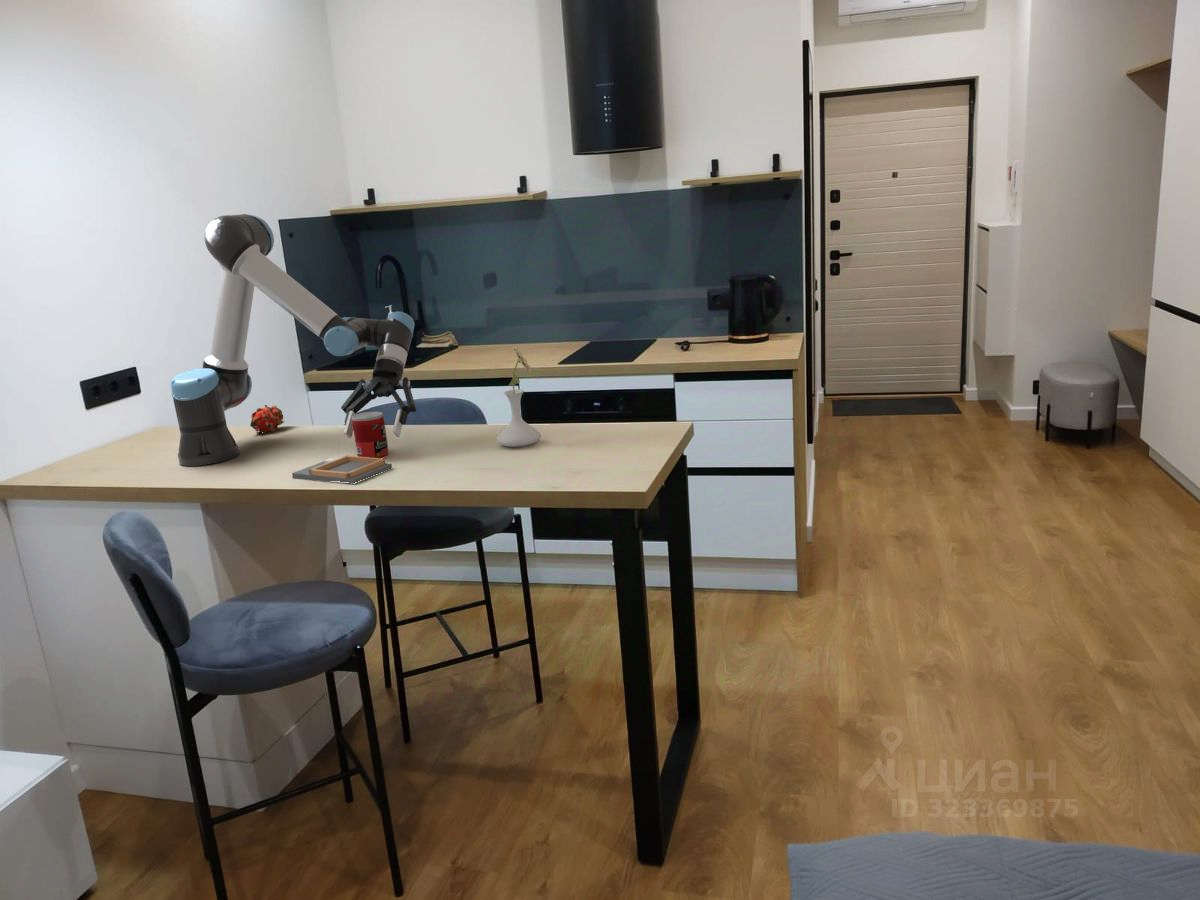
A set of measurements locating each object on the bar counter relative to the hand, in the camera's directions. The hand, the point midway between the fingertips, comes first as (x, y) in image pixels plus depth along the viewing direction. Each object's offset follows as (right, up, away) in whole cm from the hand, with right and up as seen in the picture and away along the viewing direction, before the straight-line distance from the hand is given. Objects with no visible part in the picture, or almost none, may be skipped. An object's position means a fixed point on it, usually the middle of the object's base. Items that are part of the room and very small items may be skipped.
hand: (371, 435), depth 235 cm
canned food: (0, -6, +2) cm, 6 cm away
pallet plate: (-4, -9, -11) cm, 15 cm away
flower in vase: (+38, -2, +3) cm, 38 cm away
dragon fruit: (-41, +1, +41) cm, 58 cm away
